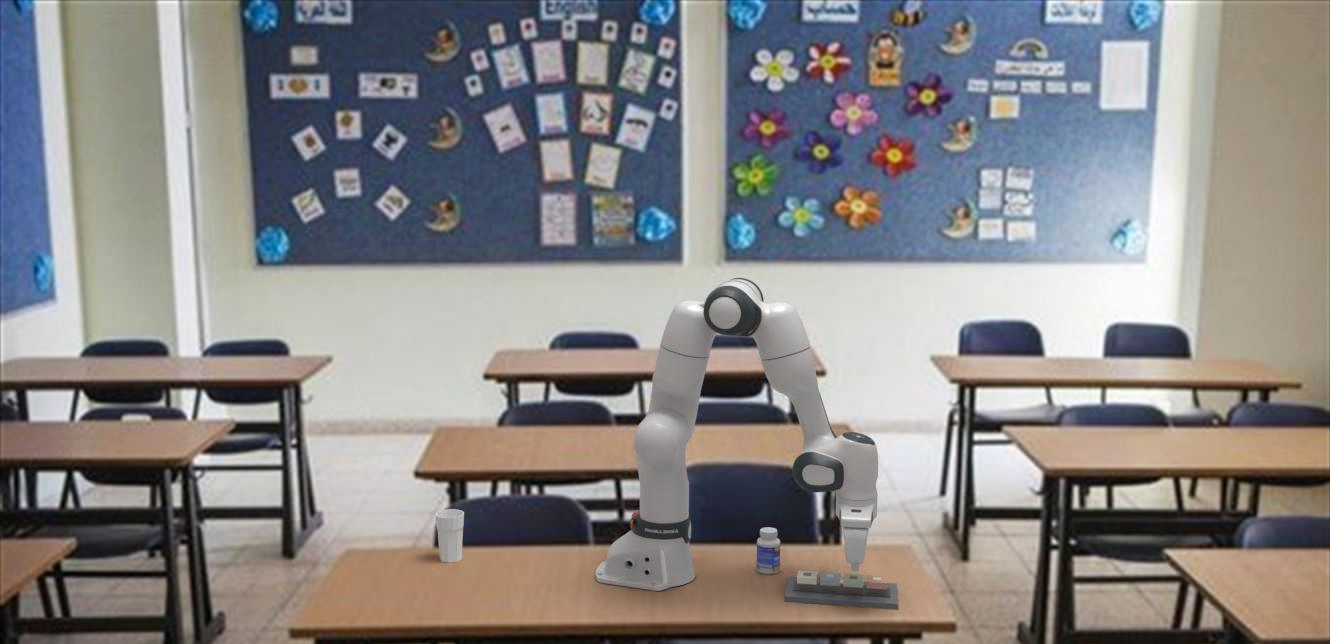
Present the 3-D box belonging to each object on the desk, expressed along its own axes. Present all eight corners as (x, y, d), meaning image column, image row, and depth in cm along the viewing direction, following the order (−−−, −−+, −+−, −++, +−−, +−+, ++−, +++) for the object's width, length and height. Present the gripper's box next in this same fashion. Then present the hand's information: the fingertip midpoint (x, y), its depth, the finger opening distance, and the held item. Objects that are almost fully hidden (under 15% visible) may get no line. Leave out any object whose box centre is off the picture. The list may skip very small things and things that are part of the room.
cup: (462, 563, 289) (461, 518, 287) (434, 563, 289) (432, 518, 288) (467, 553, 296) (466, 509, 294) (439, 553, 296) (438, 509, 294)
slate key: (820, 584, 270) (820, 578, 270) (820, 577, 275) (821, 571, 274) (839, 586, 270) (839, 579, 270) (840, 579, 274) (840, 572, 274)
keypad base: (784, 601, 268) (784, 594, 268) (788, 581, 280) (788, 574, 280) (897, 609, 264) (897, 602, 264) (896, 588, 276) (896, 582, 276)
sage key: (843, 586, 270) (843, 579, 269) (843, 579, 274) (844, 572, 274) (863, 587, 269) (863, 581, 269) (863, 580, 273) (863, 574, 273)
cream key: (797, 583, 271) (797, 576, 271) (798, 576, 275) (798, 569, 275) (816, 584, 271) (816, 578, 270) (817, 577, 275) (817, 571, 274)
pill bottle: (778, 575, 283) (779, 534, 282) (754, 573, 285) (755, 532, 283) (781, 567, 289) (782, 527, 287) (757, 565, 290) (758, 525, 288)
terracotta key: (866, 588, 269) (867, 581, 269) (866, 581, 273) (867, 574, 273) (886, 589, 268) (886, 582, 268) (886, 582, 272) (886, 575, 272)
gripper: (842, 492, 279) (841, 551, 281) (840, 521, 259) (839, 584, 262) (871, 494, 278) (869, 553, 280) (871, 523, 258) (869, 586, 261)
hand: (854, 568), depth 271 cm, fingers closed
